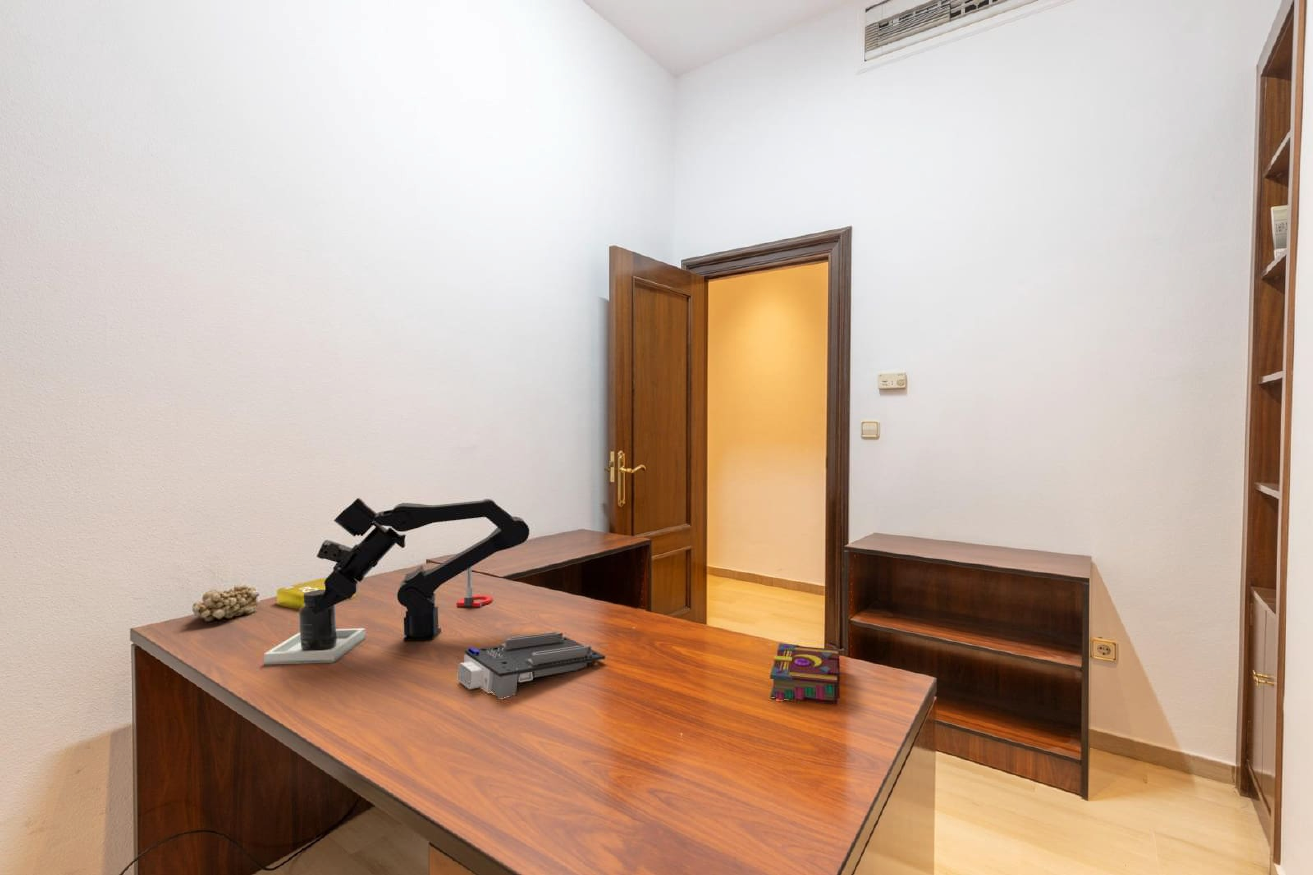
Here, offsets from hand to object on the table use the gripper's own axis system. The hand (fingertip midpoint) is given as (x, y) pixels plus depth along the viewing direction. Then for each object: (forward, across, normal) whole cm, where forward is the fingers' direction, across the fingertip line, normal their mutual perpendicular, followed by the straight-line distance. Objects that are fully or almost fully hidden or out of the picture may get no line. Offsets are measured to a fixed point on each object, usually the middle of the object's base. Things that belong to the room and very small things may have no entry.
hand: (317, 606), depth 129 cm
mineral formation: (+26, -36, -13) cm, 46 cm away
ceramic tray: (+7, 0, +7) cm, 10 cm away
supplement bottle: (+6, 0, +6) cm, 9 cm away
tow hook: (-17, -22, +31) cm, 42 cm away
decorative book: (-53, +56, +68) cm, 103 cm away
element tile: (+12, -44, +2) cm, 46 cm away
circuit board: (-21, +30, +36) cm, 51 cm away
